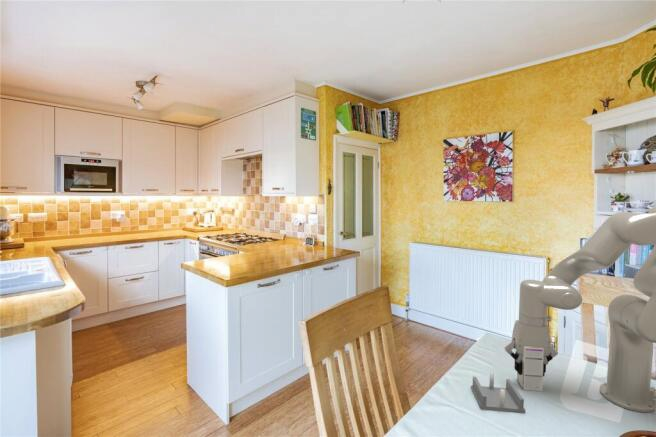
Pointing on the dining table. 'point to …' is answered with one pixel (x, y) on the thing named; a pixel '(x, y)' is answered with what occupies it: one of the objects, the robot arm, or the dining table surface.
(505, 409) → the grey peg stand
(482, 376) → the dining table surface
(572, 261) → the robot arm
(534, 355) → the syrup box
